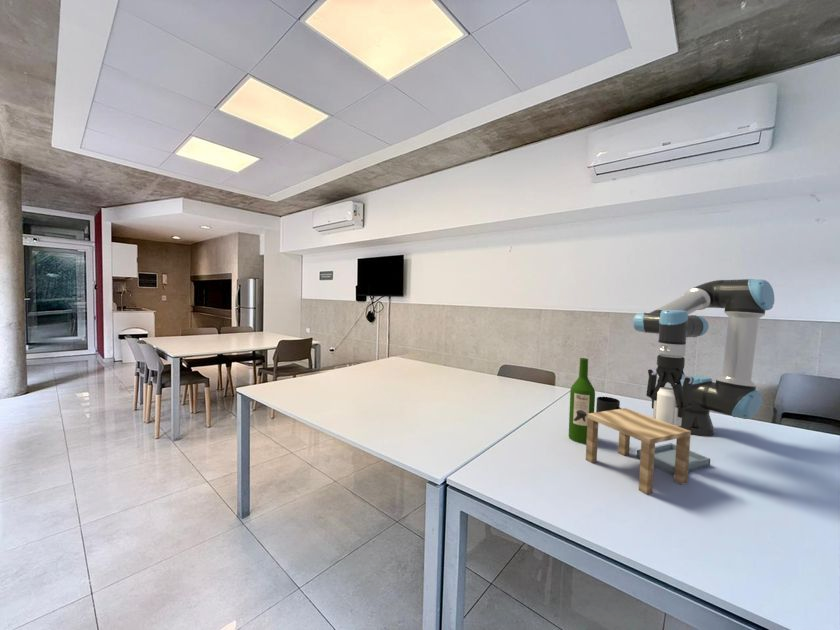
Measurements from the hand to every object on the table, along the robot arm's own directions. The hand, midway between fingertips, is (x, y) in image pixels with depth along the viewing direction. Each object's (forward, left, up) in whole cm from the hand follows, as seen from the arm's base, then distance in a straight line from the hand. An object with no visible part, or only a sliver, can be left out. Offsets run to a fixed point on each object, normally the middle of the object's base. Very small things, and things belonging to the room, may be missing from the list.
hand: (666, 422), depth 117 cm
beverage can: (0, 0, -1) cm, 1 cm away
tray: (-4, 0, -15) cm, 15 cm away
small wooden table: (+15, 0, -15) cm, 21 cm away
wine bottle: (+12, -25, -15) cm, 31 cm away
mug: (-18, -37, -15) cm, 44 cm away
